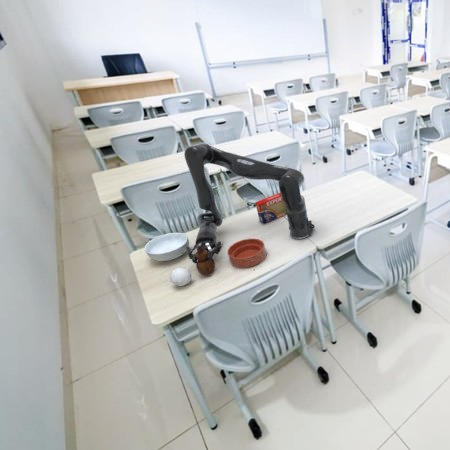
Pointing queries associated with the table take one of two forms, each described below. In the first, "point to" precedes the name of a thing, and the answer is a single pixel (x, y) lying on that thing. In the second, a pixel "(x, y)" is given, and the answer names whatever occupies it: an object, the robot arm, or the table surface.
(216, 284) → the table surface
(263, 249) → the bowl
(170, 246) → the cereal bowl
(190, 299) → the table surface
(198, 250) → the wooden figurine
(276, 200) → the toy box
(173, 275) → the white oval solid
